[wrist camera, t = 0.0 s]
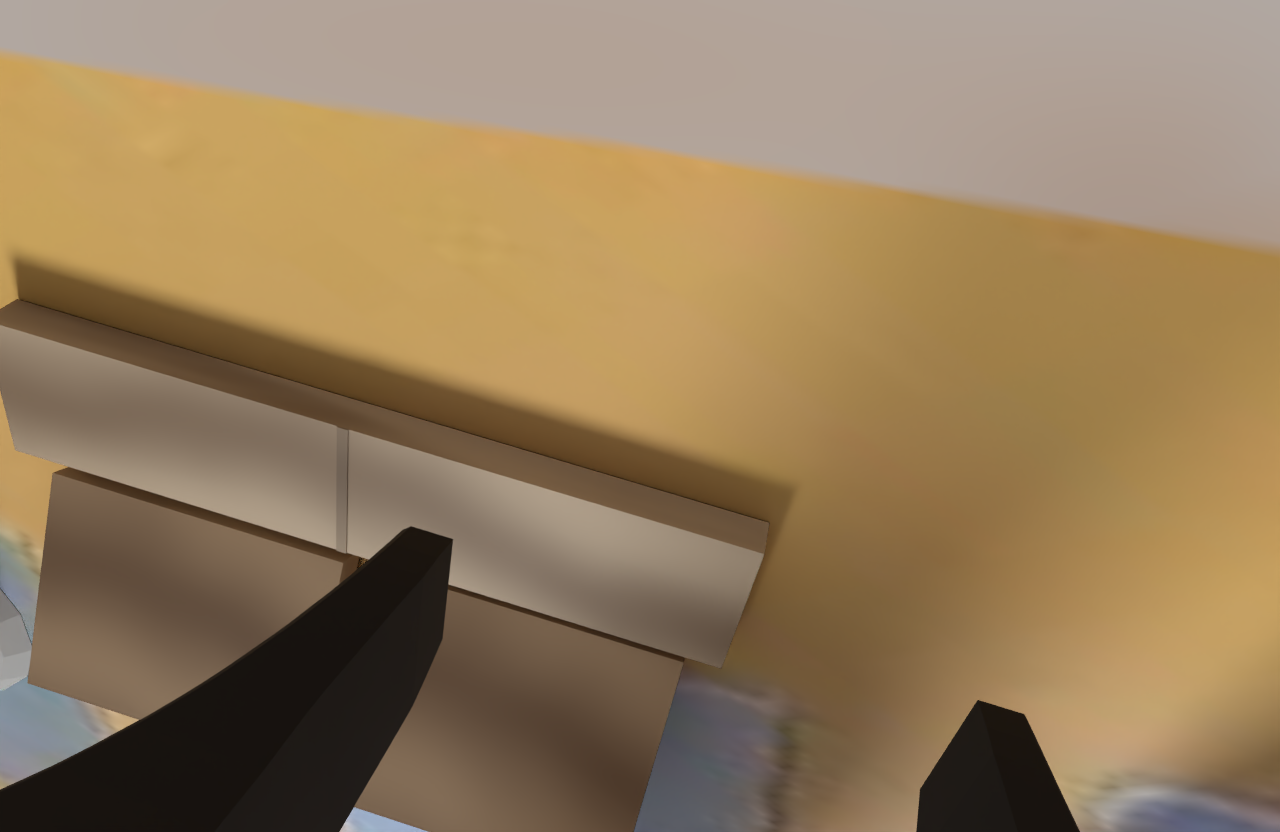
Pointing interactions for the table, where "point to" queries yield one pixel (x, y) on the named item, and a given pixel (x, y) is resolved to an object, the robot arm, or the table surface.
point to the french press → (12, 645)
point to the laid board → (378, 482)
